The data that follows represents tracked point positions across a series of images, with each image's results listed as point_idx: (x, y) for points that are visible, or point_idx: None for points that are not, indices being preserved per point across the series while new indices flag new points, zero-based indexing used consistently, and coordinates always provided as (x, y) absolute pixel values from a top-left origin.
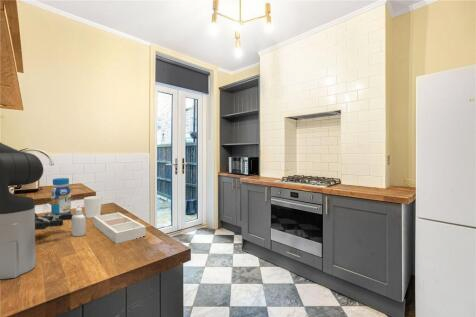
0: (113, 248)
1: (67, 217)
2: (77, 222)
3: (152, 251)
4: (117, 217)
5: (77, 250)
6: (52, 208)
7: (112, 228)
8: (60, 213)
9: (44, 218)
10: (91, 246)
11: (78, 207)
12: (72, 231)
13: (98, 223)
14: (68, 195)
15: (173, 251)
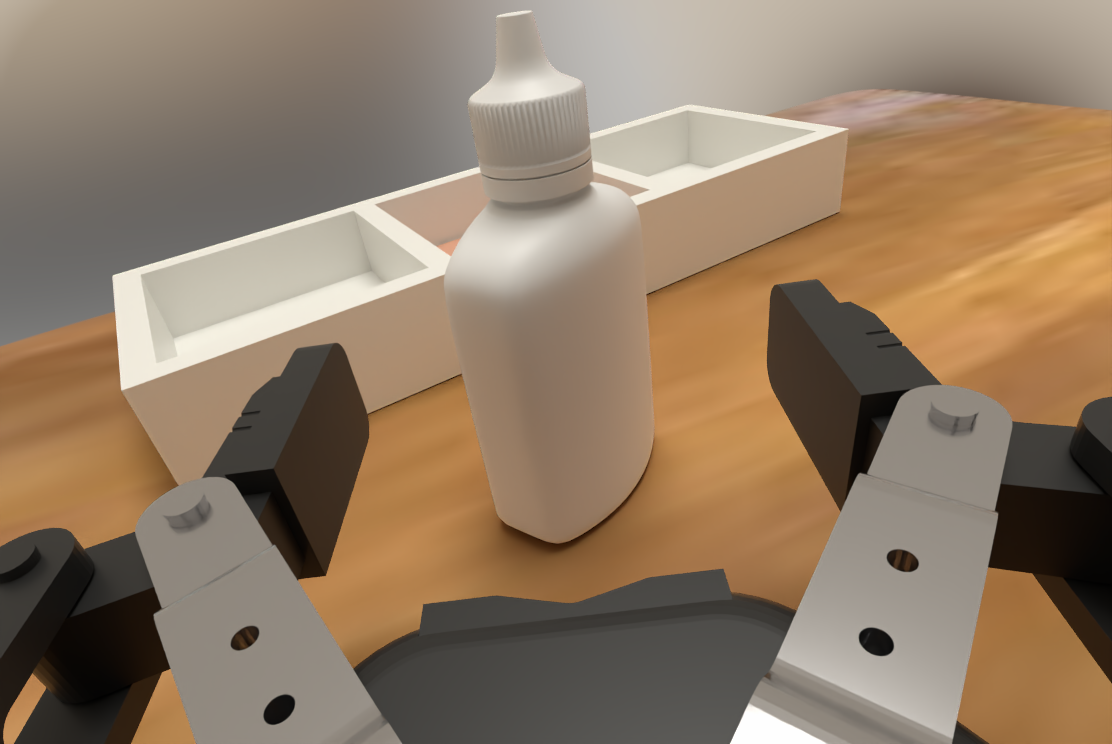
0: (922, 200)
1: (337, 436)
2: (641, 285)
3: (915, 122)
4: (164, 322)
5: (1045, 311)
6: None
7: (733, 163)
8: (37, 558)
9: (859, 543)
10: (923, 280)
11: (539, 47)
12: (598, 476)
13: (401, 331)
14: None
15: (895, 98)
